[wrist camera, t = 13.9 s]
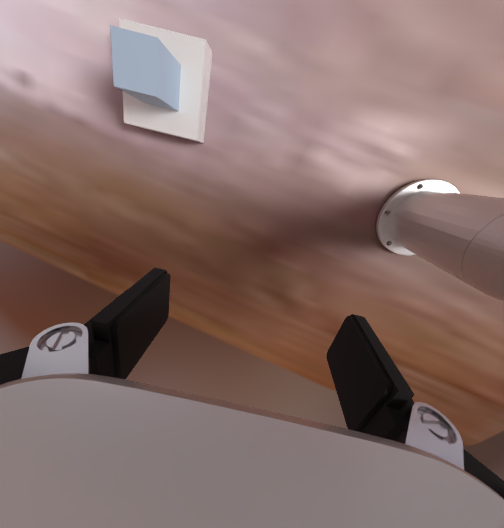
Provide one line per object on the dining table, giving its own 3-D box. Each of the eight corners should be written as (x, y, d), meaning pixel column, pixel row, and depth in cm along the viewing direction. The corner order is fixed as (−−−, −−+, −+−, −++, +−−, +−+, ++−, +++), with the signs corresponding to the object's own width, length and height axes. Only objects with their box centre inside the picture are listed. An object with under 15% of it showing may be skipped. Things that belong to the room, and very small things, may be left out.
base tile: (212, 52, 28) (205, 39, 25) (203, 143, 32) (197, 140, 30) (134, 33, 28) (119, 17, 25) (136, 126, 32) (123, 122, 29)
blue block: (181, 65, 26) (157, 37, 21) (178, 111, 28) (156, 96, 23) (143, 55, 26) (110, 25, 21) (143, 102, 28) (113, 86, 23)
